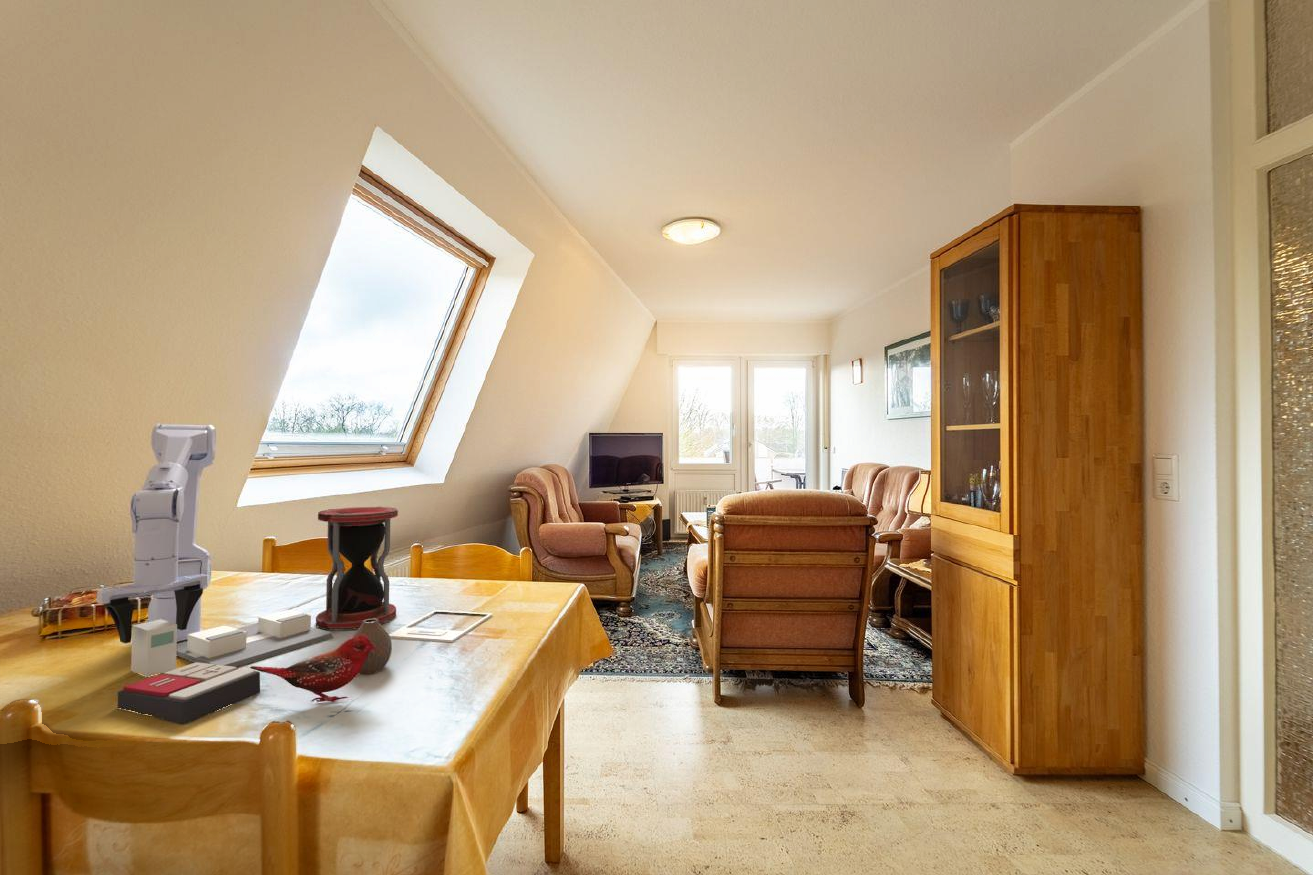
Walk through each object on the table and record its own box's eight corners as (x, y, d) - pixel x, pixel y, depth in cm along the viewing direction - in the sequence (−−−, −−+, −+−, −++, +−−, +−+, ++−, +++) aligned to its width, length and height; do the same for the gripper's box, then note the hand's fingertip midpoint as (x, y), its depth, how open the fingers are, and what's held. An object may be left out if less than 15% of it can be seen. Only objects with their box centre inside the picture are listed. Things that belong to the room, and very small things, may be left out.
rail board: (165, 651, 104) (165, 629, 104) (278, 622, 122) (278, 603, 122) (219, 672, 95) (219, 647, 95) (332, 637, 113) (333, 617, 113)
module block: (131, 671, 95) (132, 625, 95) (160, 663, 99) (161, 619, 99) (147, 678, 92) (148, 630, 93) (176, 669, 96) (177, 624, 96)
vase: (346, 681, 92) (347, 628, 92) (348, 666, 98) (348, 617, 98) (391, 673, 95) (392, 623, 95) (390, 660, 101) (391, 612, 101)
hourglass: (349, 607, 134) (351, 505, 135) (410, 610, 132) (412, 507, 132) (297, 628, 118) (300, 513, 119) (365, 632, 116) (368, 514, 116)
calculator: (197, 659, 92) (261, 666, 88) (197, 685, 92) (261, 693, 87) (116, 686, 82) (183, 696, 77) (116, 715, 82) (183, 726, 77)
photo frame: (386, 634, 113) (435, 609, 131) (386, 639, 113) (435, 613, 131) (452, 639, 110) (492, 612, 128) (452, 644, 110) (492, 617, 128)
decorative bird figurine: (373, 701, 84) (374, 636, 85) (243, 712, 81) (245, 644, 81) (378, 693, 87) (380, 630, 87) (253, 703, 83) (255, 638, 84)
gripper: (110, 567, 88) (108, 652, 87) (216, 552, 101) (214, 626, 100) (92, 563, 91) (90, 645, 91) (197, 549, 104) (195, 621, 104)
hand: (154, 635), depth 96 cm, fingers open, 7 cm apart
